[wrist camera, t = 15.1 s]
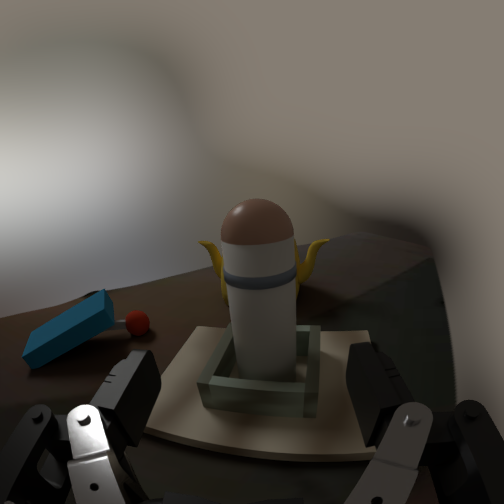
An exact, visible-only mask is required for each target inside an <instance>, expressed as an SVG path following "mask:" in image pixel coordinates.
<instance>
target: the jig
mask: <svg viewBox="0 0 504 504" xmlns="http://www.w3.org/2000/svg"><path fill="white" fill-rule="evenodd" d="M361 342H370V338H369V334H368V331H325V332H320V326H306V325H296V382H295V383H293V382H273V381H258V380H247V379H239V373H238V366H237V359H236V353H235V346H234V339H233V331H232V324H231V323H229V325H228V326H227V328H214V327H202V326H197V328H196V329H195V330H194V332H193V333H192V335H191V336H190V337H189V339H188V340H187V341H186V343H185V344H184V345H183V347H182V348H181V350H180V351H179V352H178V354H177V355H176V356H175V358H174V359H173V361H172V362H171V363H170V365H169V366H168V367H167V369H166V370H165V372H164V373H163V374H162V376H161V382H162V385H161V391H160V393H159V396H158V398H157V400H156V403H155V405H154V408H153V410H152V412H151V415H150V417H149V420H148V422H147V424H146V427H145V429H144V433H147V434H150V435H154V436H157V437H160V438H163V439H167V440H170V441H174V442H177V443H181V444H185V445H189V446H193V447H197V448H202V449H206V450H211V451H216V452H221V453H227V454H233V455H239V456H246V457H253V458H262V459H272V460H284V461H302V462H343V461H361V460H371V459H372V458H373V456H374V454H375V453H376V448H375V446H372V447H368V448H366V447H365V444H364V440H363V437H362V434H361V430H360V427H359V424H358V420H357V417H356V414H355V411H354V408H353V404H352V401H351V398H350V395H349V392H348V389H347V385H346V368H347V361H348V354H349V347H350V345H351V344H354V343H361ZM370 343H371V342H370Z"/></svg>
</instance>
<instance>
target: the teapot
mask: <svg viewBox="0 0 504 504" xmlns="http://www.w3.org/2000/svg"><path fill="white" fill-rule="evenodd" d="M329 240H330V239H322V240H317V241H314V242H313V243H312V244H311V245H310V247H309V249H308V253H307V257H306V259H305V261H304V262H303V263H302V264H300V260H299V254H298V250H297V245H296V241H295V239H294V251H295V260H296V268H297V275H296V277H295V282H296V299H297V296H298V292H299V288H300V284H301V283H303V282H305V281H306V280H307V279H308V278H309V277H310V275H311V274H312V271H313V268H314V264H315V259H316V255H317V252H318V250H319V248H320V247H321V246H322V245H323V244H325V243H326V242H328V241H329ZM198 243H200V244H202V245H203V246H204V247H205V248H206V249H207V250H208V252H209V253H210V256H211V260H212V263H213V267H214V270H215V272H216V274H217V275H218V277H219V278H220V279H221V288H222V296H223V299H224V301H225V303H226V305H228V306H229V302H228V294H227V286H226V282H225V280H224V273H223V266H224V261H223V253H222V257H221V256H220V253H219V251H218V249H217V247H216V246H215V245H214V244H213V243H211V242H208V241H198Z"/></svg>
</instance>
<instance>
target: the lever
mask: <svg viewBox="0 0 504 504" xmlns="http://www.w3.org/2000/svg"><path fill="white" fill-rule="evenodd" d="M149 324H150V322H149V318H148V317H147V315H146V314H145V313H144V312H142V311H137V310H135V311H132V312H130V313H129V314H128V315H127V316H126V319H125V320H116V321H114V310H113V302H112V300H111V299H110V297H109V296H108V294H107V292H106V291H105V289H103V290H101V291H99V292H98V293H96V294H94V295H92V296H91V297H89V298H87V299H85V300H84V301H82V302H80V303H79V304H77V305H75V306H74V307H72V308H70V309H69V310H67V311H65V312H64V313H62V314H60V315H59V316H57V317H55V318H54V319H52V320H50V321H49V322H47V323H45V324H44V325H42V326H41V327H39V328H37V329H36V330H34V331H33V332H31V335H30V337H29V339H28V342H27V345H26V347H25V350H24V352H23V355H22V358H23V359H24V360H25V361H26V363H27V364H28V365H29V366H30V368H31V369H35V368H39V367H41V366H43V365H44V364H46V363H48V362H50V361H52V360H53V359H55V358H57V357H59V356H60V355H62V354H64V353H66V352H67V351H69V350H71V349H73V348H74V347H76V346H78V345H80V344H81V343H83V342H85V341H87V340H89V339H90V338H92V337H94V336H96V335H97V334H99V333H101V332H103V331H107V330H118V329H127V330H128V332H130V333H131V334H133V335H136V336H140V335H143V334H145V333H146V332H147V331H148V329H149Z"/></svg>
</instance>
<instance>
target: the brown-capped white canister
mask: <svg viewBox="0 0 504 504" xmlns="http://www.w3.org/2000/svg"><path fill="white" fill-rule="evenodd" d="M221 244H222V253H223V261H224V266H223V273H224V280H225V282H226V286H227V294H228V302H229V309H230V317H231V324H232V331H233V339H234V346H235V353H236V359H237V366H238V373H239V379H247V380H258V381H273V382H293V383H295V382H296V282H295V277H296V275H297V268H296V260H295V251H294V232H293V226H292V223H291V220H290V218H289V216H288V215H287V214H286V212H285V211H284V210H283V209H282V208H281V207H280V206H278V205H277V204H275V203H273V202H271V201H268V200H264V199H250V200H246V201H244V202H241V203H239V204H238V205H236V206H235V207H234V208H232V209H231V210H230V212H229V213H228V214H227V216H226V217H225V219H224V221H223V225H222V228H221Z"/></svg>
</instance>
